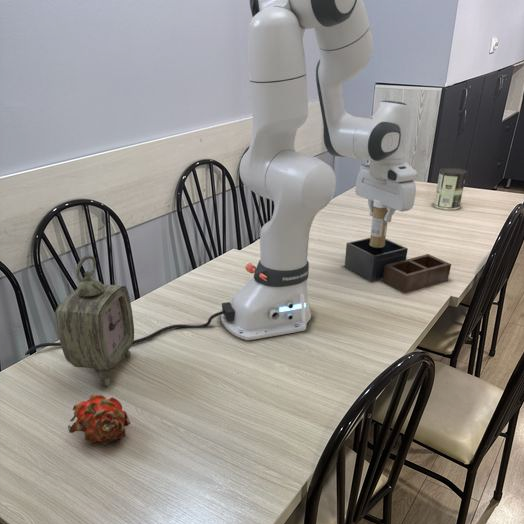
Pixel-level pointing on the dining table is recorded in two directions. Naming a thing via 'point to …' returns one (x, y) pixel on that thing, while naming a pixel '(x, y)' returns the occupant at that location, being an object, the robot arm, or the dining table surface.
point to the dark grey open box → (372, 258)
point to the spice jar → (378, 225)
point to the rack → (416, 273)
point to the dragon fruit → (100, 419)
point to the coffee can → (450, 188)
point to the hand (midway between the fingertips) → (380, 218)
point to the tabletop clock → (95, 324)
